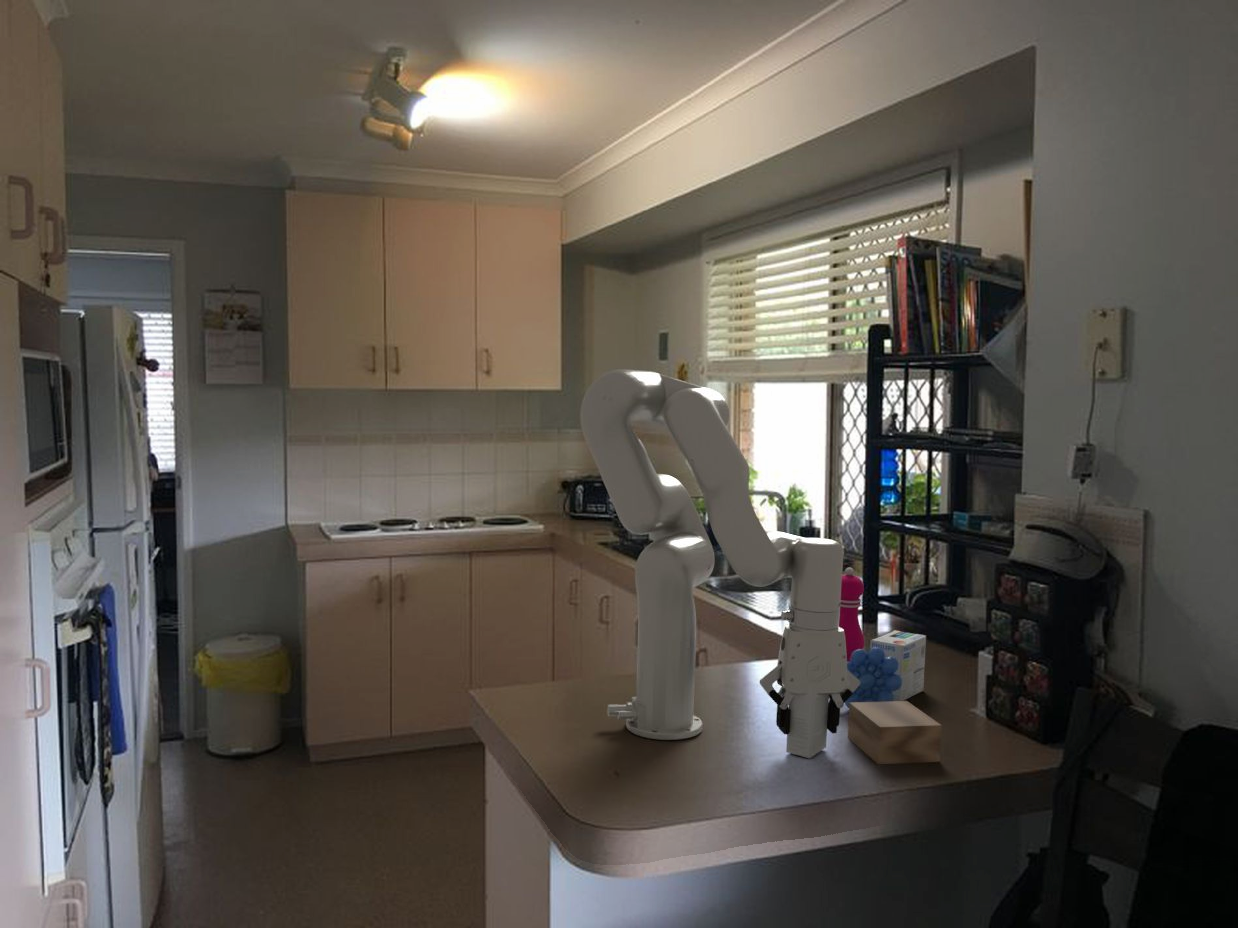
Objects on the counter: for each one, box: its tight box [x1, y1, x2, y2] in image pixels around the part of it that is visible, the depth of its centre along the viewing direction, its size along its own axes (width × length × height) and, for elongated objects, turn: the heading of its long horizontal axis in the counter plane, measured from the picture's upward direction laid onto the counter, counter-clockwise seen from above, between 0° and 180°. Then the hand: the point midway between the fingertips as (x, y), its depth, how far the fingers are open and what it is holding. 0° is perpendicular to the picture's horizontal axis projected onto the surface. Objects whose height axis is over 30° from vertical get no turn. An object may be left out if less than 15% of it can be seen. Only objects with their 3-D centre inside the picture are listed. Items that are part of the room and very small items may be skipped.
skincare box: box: [785, 681, 829, 759], centre depth 161 cm, size 6×4×12 cm
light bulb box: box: [869, 630, 927, 701], centre depth 194 cm, size 11×7×11 cm, turn 141°
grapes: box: [844, 647, 902, 709], centre depth 182 cm, size 12×7×12 cm, turn 59°
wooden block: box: [847, 700, 942, 765], centre depth 164 cm, size 10×12×6 cm
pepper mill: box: [839, 567, 865, 662], centre depth 214 cm, size 7×7×20 cm
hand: (807, 729), depth 161 cm, fingers closed on skincare box, 7 cm apart
